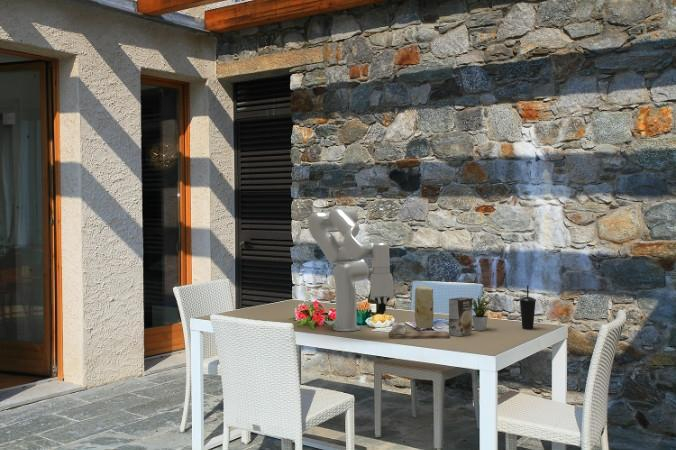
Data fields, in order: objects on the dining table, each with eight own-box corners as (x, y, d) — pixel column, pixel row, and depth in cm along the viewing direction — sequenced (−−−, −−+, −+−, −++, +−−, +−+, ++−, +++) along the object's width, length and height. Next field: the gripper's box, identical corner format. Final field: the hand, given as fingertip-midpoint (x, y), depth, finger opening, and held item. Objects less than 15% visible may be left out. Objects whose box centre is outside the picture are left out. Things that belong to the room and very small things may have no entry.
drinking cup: (517, 329, 339) (517, 286, 338) (521, 326, 346) (521, 284, 345) (534, 330, 335) (534, 286, 335) (537, 327, 342) (537, 285, 341)
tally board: (390, 338, 320) (389, 335, 319) (388, 334, 330) (388, 331, 329) (449, 338, 319) (449, 335, 319) (446, 333, 329) (446, 330, 329)
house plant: (496, 333, 330) (496, 297, 329) (465, 332, 332) (465, 296, 332) (496, 327, 343) (496, 292, 343) (466, 326, 346) (466, 292, 346)
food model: (436, 328, 342) (436, 286, 341) (429, 331, 337) (428, 287, 336) (418, 326, 348) (418, 284, 347) (411, 328, 343) (410, 286, 342)
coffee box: (459, 336, 323) (459, 300, 322) (448, 334, 327) (448, 298, 327) (472, 333, 329) (472, 298, 328) (461, 332, 334) (461, 296, 333)
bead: (393, 334, 321) (393, 325, 321) (392, 331, 327) (392, 322, 327) (404, 334, 321) (404, 325, 321) (403, 331, 327) (403, 322, 327)
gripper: (364, 272, 320) (365, 314, 320) (398, 271, 319) (400, 313, 320) (364, 270, 327) (365, 311, 327) (397, 269, 327) (398, 310, 327)
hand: (382, 312), depth 324 cm, fingers closed
